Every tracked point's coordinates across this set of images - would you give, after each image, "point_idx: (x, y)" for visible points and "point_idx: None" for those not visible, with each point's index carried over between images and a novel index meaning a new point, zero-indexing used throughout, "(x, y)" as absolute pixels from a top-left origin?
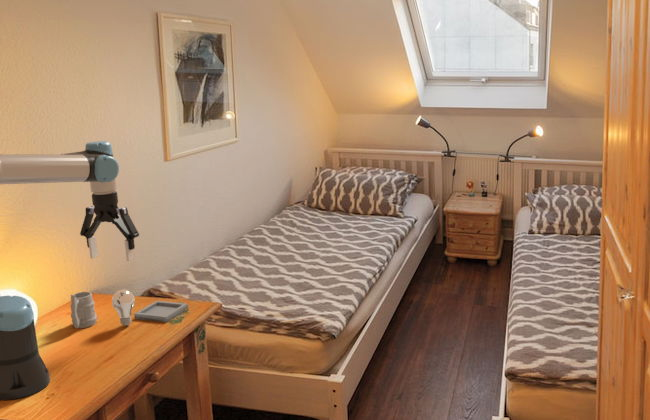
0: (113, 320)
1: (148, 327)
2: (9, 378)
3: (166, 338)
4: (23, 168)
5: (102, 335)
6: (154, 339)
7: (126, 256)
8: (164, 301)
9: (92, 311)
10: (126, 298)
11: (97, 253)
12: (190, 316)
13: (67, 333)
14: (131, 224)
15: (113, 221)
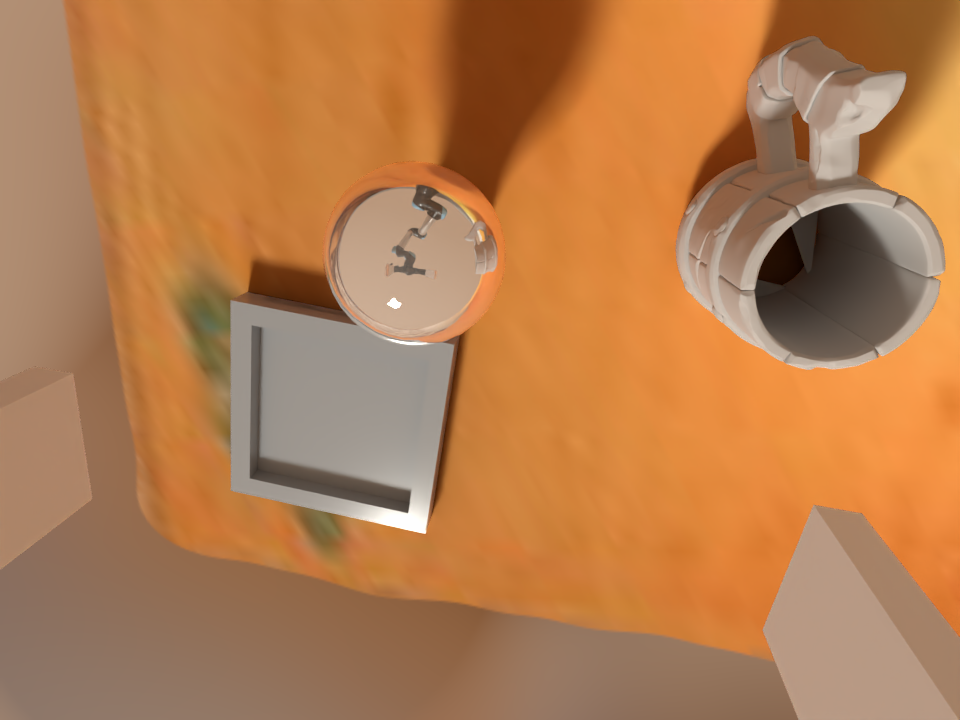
0: (582, 304)
1: (308, 213)
2: None
3: (109, 56)
4: None
5: (531, 51)
6: (166, 30)
7: (4, 407)
8: (375, 521)
9: (702, 251)
10: (338, 205)
11: (783, 670)
12: (176, 379)
13: None
14: None
15: None
